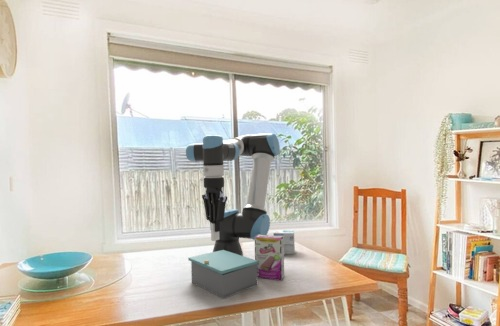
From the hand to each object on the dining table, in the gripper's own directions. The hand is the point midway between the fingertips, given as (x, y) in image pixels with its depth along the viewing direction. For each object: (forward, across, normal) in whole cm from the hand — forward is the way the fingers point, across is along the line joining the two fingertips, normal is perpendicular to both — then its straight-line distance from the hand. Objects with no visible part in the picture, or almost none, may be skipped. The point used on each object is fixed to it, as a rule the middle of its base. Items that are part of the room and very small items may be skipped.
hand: (215, 239), depth 112 cm
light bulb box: (+19, -10, +50) cm, 55 cm away
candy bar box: (+18, +8, +20) cm, 28 cm away
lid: (+9, 0, +3) cm, 9 cm away
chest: (+17, 0, +3) cm, 18 cm away
